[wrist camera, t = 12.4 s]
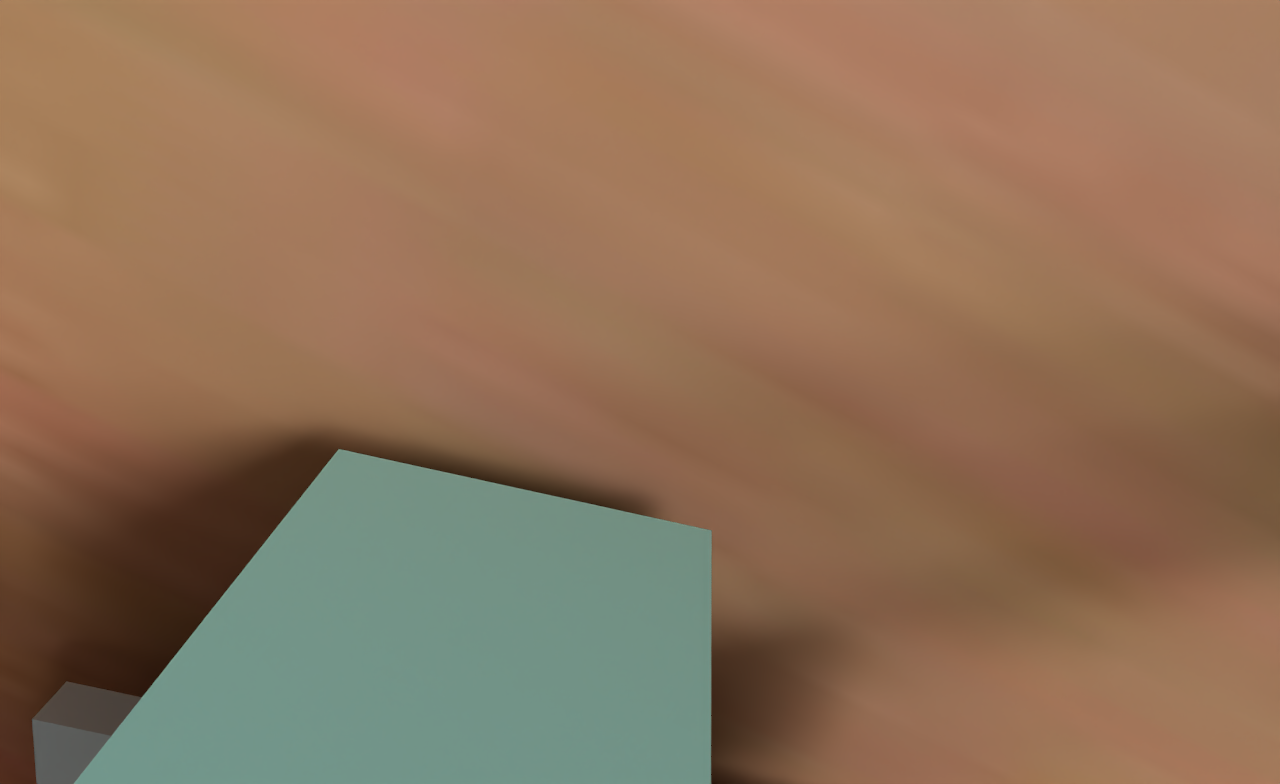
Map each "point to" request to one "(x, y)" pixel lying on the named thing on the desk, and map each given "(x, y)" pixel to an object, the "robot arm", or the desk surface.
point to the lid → (423, 649)
